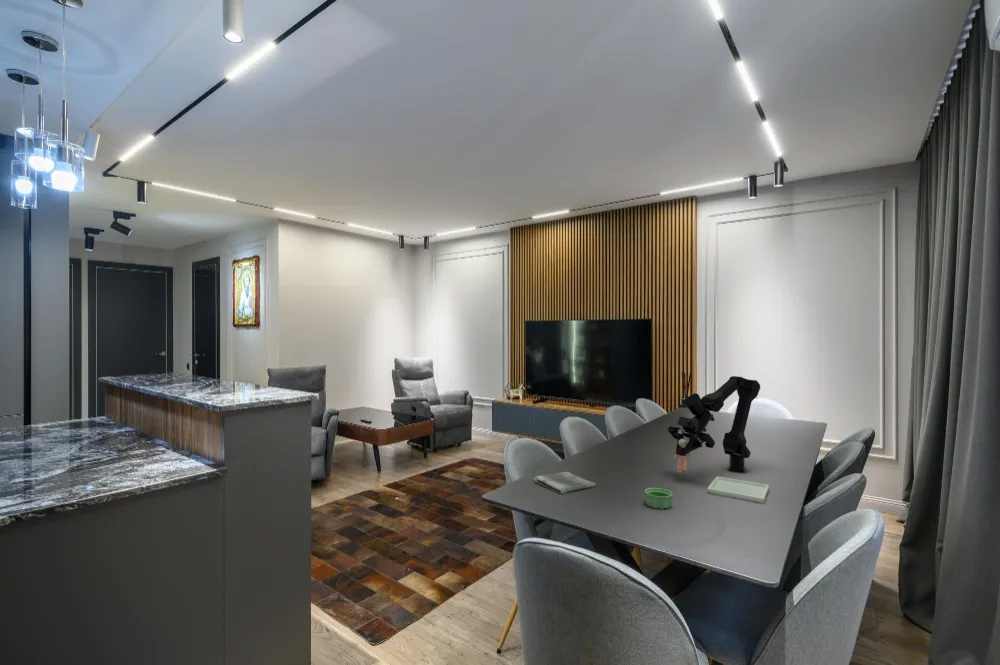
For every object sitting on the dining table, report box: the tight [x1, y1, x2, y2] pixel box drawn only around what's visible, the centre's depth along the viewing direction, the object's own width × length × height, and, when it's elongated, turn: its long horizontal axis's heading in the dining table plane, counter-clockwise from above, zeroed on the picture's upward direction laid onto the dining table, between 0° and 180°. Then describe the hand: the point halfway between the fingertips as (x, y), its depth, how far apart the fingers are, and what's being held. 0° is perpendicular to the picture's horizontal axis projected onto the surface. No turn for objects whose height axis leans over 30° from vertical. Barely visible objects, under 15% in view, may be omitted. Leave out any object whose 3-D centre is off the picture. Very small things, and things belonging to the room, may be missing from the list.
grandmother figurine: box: [673, 439, 691, 474], centre depth 187 cm, size 8×4×13 cm, turn 125°
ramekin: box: [644, 487, 674, 510], centre depth 162 cm, size 9×9×4 cm
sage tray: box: [706, 476, 770, 505], centre depth 176 cm, size 18×18×2 cm
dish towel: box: [532, 471, 597, 495], centre depth 183 cm, size 19×18×3 cm
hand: (679, 453), depth 187 cm, fingers closed on grandmother figurine, 3 cm apart
